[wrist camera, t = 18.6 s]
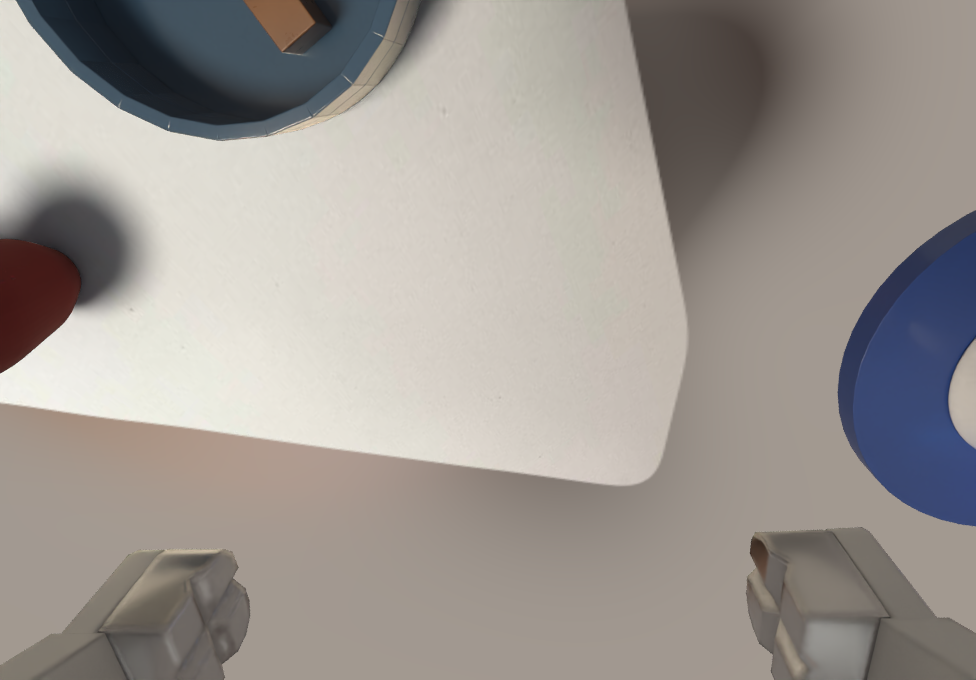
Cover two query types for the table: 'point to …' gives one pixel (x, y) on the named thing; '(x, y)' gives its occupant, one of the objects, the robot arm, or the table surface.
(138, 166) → the table surface
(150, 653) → the robot arm
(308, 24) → the stick
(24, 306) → the mug
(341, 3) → the bowl
